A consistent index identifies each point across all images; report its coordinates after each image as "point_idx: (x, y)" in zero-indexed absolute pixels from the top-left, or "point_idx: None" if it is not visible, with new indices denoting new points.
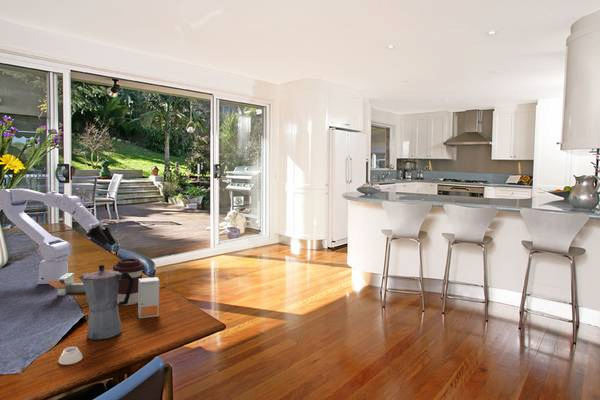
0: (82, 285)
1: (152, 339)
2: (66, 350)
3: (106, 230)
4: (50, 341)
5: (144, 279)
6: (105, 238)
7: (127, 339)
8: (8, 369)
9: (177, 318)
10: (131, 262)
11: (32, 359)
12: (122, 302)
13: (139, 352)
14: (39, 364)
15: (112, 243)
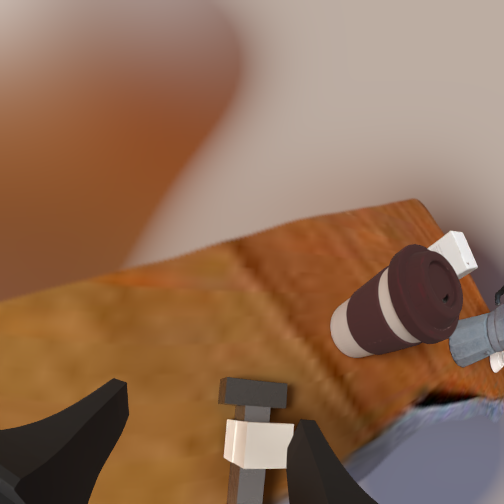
0: (262, 492)
1: (460, 280)
2: (501, 363)
3: (43, 484)
4: (473, 409)
5: (468, 257)
6: (327, 446)
7: (465, 310)
8: (501, 413)
9: (412, 241)
10: (456, 274)
11: (493, 402)
12: (499, 299)
13: (478, 294)
14: (497, 389)
15: (123, 409)
